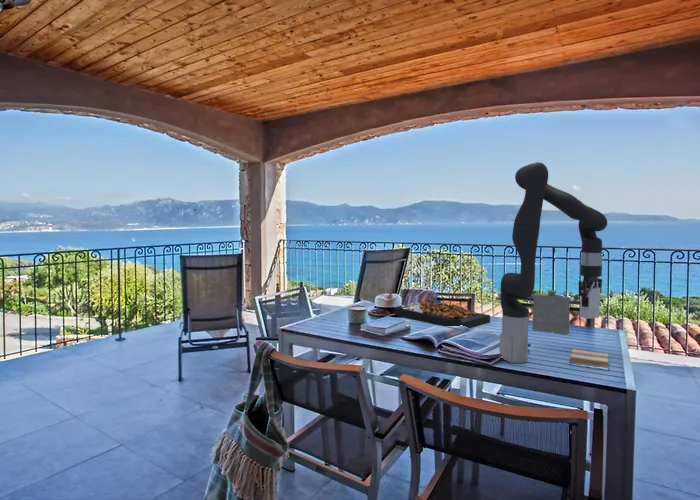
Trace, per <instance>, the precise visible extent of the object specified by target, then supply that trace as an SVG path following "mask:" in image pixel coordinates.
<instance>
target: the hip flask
mask: <svg viewBox="0 0 700 500" xmlns="http://www.w3.org/2000/svg"><path fill="white" fill-rule="evenodd" d="M556 293H557V290H552V289H548V290H547V294H541V293H534V294H533V298H532V299H533V303H532V304H533V305H532V307H533V309H532V331H536V332H544V333H551V332H554V333H553V334H559V335H564V336H568V334H569V335H570V313H571V312H570V311H571V310H570V309H571V305H570V304H571V297H570V296H565V295H562V294H561V295H560V294H556Z"/></svg>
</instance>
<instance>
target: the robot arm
mask: <svg viewBox="0 0 700 500" xmlns="http://www.w3.org/2000/svg"><path fill="white" fill-rule="evenodd" d="M514 177H515V178H514V179H515V183H516V184H517V185H518V187H519V188H521V189H523V190H525V193H524V197H523V201H522V204H521V205H520V208H519V209H518V211H517V214H516V215H515V217H514V221H513V227H512V234H511V238H512V243H513V245H514V247H515V249H516V252H517V254H518V256H519V260H520V272H519V273H518V272H507V273H505V274H503V276H502V277H501V280H500V307H501V310H502V321H501V322H502V325H501V326H502V328H501V330H502V333H501V334H499V355H500V354H501V355H502V358H503V359H504V360H503V359H502V360H503V361H505V360H506V361H505V362H507V361H508V363H509V362H510V364H511V363H512V364H513V363H514V364H524V363H527V362H528V351H529V350H528V349H529V347H528V346H529V313H530V312H529V308H528V307H526V306H525V305H523V304H522V303H521V302H520V301H519V299H521V300H522V299H523V300H528V299H530V298H531V297H532V295H534V294H533V293H534V291H535V290H534V289H535V283H536V257H537V250H538V249H537V248H538V241H539V237H540V236H539V235H540V227H541V220H542V219H541V217H542V211H543V205H544V204H543V203H544V201H545V202H547V203H548V204H550V205H552V206H553V207H555V208H556V209H558V210H559V211H561V212H562V213H564V215H566V216H568V217H569V218H570V219H572V220H576V221H578V232H579V236H580V240H581V255H580V261H579V262H580V266H579V269H580V270H579V275H580V276H582V277H583V279H582V280H578V296H579V297H580V296H581V297H582V306H583V307H588V304H589V298H588V297H589V292H592V289H593V288H595V287H596V288H600V295H601V294H602V287H603V279H602V278H600V277H602V276H603V240H602V238H600V237H598V236H597V233H596V232H602V231H604V230H605V229H606V228H607V227H608V220H607V216H606V215H604V214H603V213H602V212H601V211H599V210H597V209H594V208H592V207H591V206H589V205H586V204H585V203H583V202H582V201H581V200H580V199H578V198H577V197H576V196H574V195H573V194H572V193H571V194H570V193H569V192H566V191H565V190H561V189H559V188H556V187H555V186H552V185H550V184H548V181H549V169H548V168H547V166H546V165H545V164H544V163H543V162H537V161H536V162H533V163H529V164H527V165H524V166H522V167H520V168H519V169H518V170H517V171H516V172H515V176H514ZM586 288H589V289H590V290H589V289H586ZM581 290H582V293H581ZM586 292H587V294H586Z"/></svg>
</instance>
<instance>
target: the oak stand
mask: <svg viewBox="0 0 700 500" xmlns="http://www.w3.org/2000/svg"><path fill="white" fill-rule="evenodd" d="M570 364H577V365H585V366H593V367H603V368H608V369H609V353H606V352H600V351H598V352H597V351H592V350H582V349H575V348H572V349H571V352H570V357H569V365H570Z"/></svg>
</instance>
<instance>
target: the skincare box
mask: <svg viewBox="0 0 700 500" xmlns="http://www.w3.org/2000/svg"><path fill="white" fill-rule="evenodd" d="M586 289H589V288H586ZM589 290H590V289H589ZM581 293H582V290H581ZM586 294H587V292H586ZM579 297H580V298H579V299H580V301H579V317H580V318H582V319H589V320H590V319H599V318H600V310H601V307H600V305H601V303H600V302H601V294H600V288H596V287H595V288H593V289H592V292H589V297H588V298H589V304H588V307H583V306H582V297H581V296H579Z"/></svg>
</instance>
